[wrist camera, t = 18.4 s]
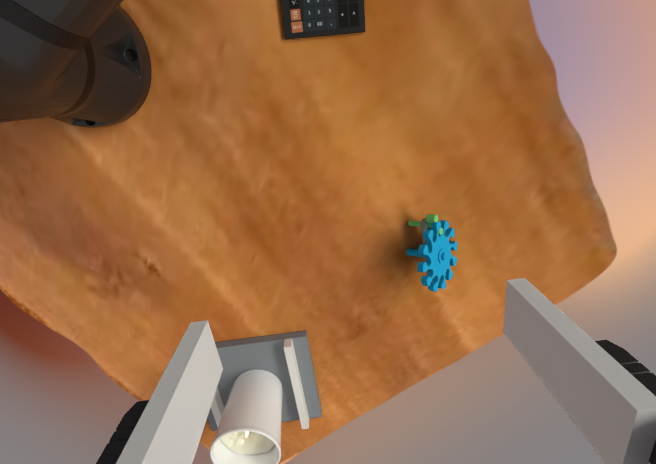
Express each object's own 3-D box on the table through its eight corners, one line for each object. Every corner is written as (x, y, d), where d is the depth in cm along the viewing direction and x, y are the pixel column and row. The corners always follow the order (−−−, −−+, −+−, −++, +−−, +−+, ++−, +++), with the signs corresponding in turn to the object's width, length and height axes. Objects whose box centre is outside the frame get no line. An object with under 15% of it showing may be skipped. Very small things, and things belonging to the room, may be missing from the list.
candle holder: (217, 378, 59) (195, 446, 48) (268, 356, 58) (257, 420, 47) (248, 415, 63) (234, 486, 51) (297, 395, 61) (293, 464, 50)
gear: (463, 276, 53) (430, 304, 46) (427, 271, 57) (393, 295, 51) (458, 205, 50) (423, 224, 44) (421, 204, 55) (383, 221, 48)
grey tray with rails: (214, 423, 65) (209, 441, 62) (186, 346, 58) (179, 361, 55) (321, 409, 65) (321, 426, 61) (306, 330, 58) (305, 344, 55)
